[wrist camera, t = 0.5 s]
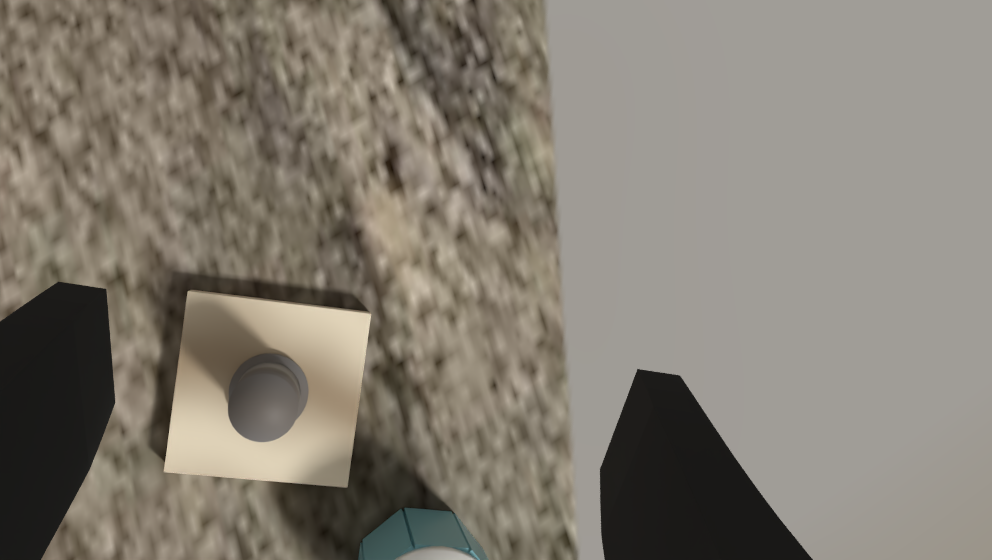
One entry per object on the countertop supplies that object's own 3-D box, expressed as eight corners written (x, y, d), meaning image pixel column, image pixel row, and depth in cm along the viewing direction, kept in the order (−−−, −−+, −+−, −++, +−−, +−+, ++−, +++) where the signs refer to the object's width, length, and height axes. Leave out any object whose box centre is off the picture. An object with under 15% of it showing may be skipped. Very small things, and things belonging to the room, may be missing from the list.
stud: (346, 480, 36) (350, 514, 32) (168, 465, 35) (145, 498, 31) (369, 311, 36) (375, 322, 32) (191, 289, 35) (172, 297, 30)
